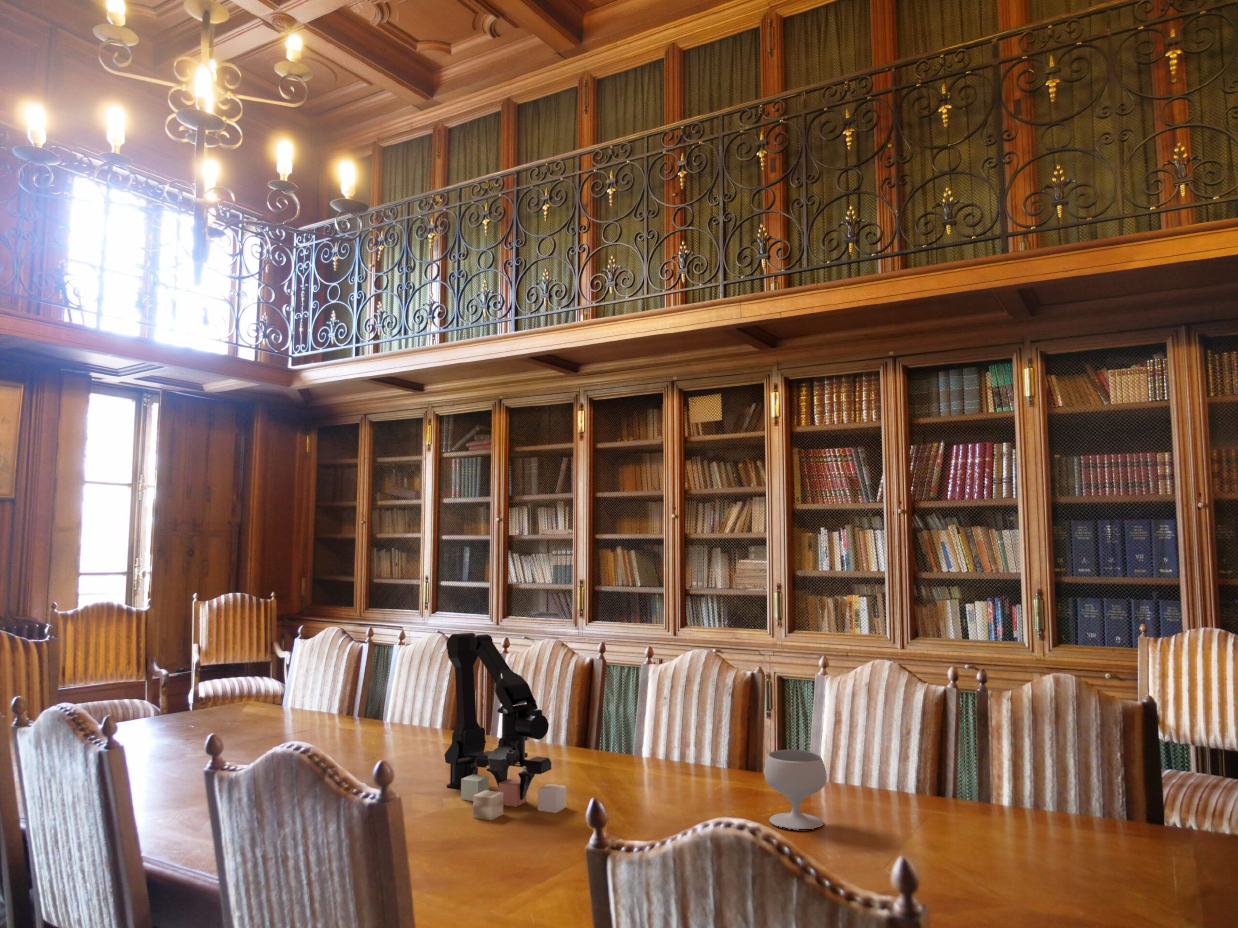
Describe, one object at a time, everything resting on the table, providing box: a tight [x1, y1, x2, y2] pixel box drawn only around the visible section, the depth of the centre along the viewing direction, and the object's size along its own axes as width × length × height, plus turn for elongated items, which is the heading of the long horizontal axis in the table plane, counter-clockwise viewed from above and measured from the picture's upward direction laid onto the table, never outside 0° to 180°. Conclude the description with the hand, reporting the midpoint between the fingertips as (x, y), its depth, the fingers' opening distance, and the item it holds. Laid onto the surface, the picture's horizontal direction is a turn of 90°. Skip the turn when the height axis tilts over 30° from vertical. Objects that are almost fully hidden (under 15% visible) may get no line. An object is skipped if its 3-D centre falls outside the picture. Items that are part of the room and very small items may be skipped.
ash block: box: [472, 790, 504, 821], centre depth 196 cm, size 5×5×5 cm
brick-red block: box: [498, 777, 528, 808], centre depth 206 cm, size 5×5×5 cm
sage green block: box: [460, 774, 490, 802], centre depth 210 cm, size 5×5×5 cm
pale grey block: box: [537, 783, 567, 814], centre depth 201 cm, size 5×5×5 cm
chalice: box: [763, 749, 828, 831], centre depth 191 cm, size 14×14×15 cm
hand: (512, 798), depth 206 cm, fingers closed on brick-red block, 5 cm apart
